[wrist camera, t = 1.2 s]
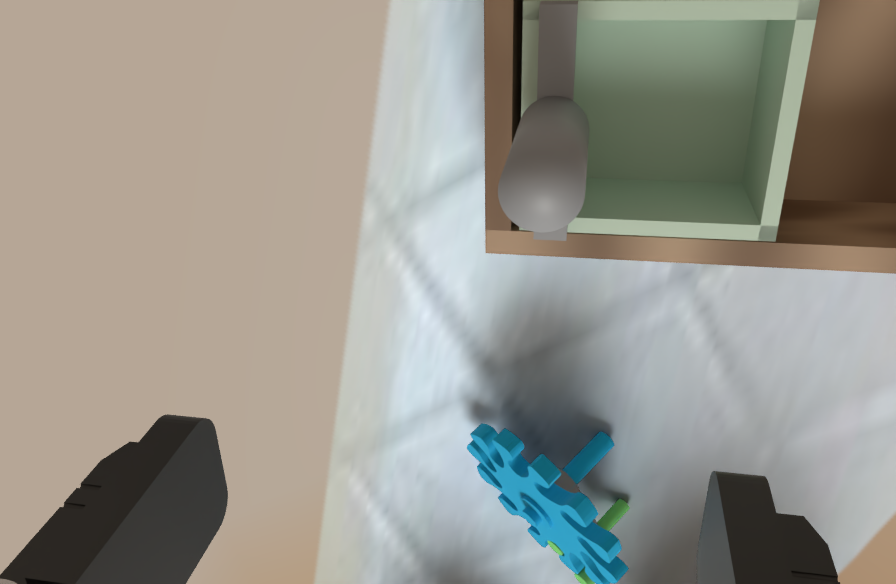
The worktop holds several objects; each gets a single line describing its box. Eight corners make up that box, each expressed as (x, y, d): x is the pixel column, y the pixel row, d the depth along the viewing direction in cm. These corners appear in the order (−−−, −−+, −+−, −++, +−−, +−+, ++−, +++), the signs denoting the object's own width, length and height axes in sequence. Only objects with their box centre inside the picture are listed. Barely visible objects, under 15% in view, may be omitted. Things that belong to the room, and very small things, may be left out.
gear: (431, 415, 40) (561, 496, 32) (510, 343, 42) (652, 402, 34) (512, 546, 46) (641, 644, 38) (579, 477, 48) (716, 555, 40)
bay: (1083, -69, 27) (1183, -58, 23) (990, 222, 32) (1055, 281, 28) (502, -59, 31) (483, -47, 26) (501, 203, 36) (485, 252, 31)
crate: (787, -20, 29) (889, 39, 18) (752, 192, 32) (820, 339, 22) (534, -18, 30) (498, 38, 20) (530, 184, 34) (497, 318, 24)
